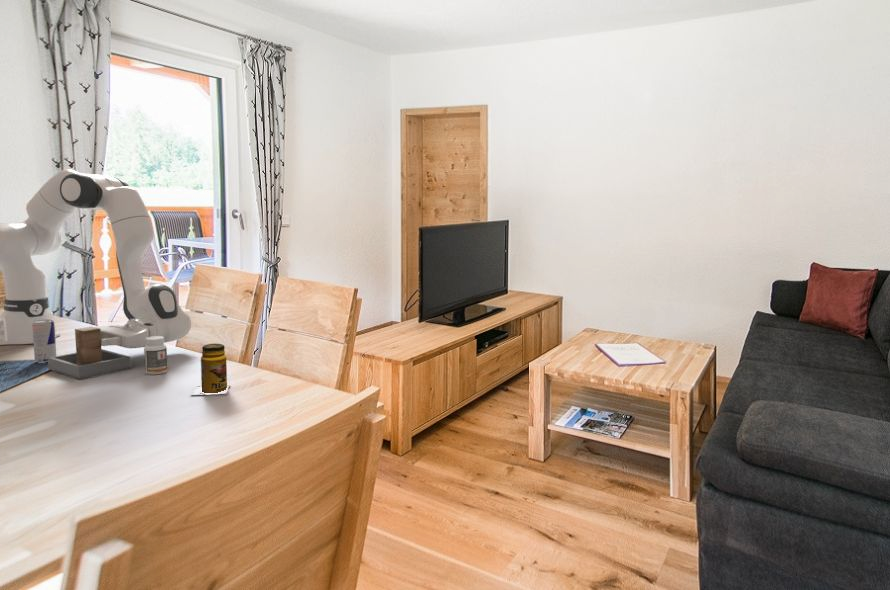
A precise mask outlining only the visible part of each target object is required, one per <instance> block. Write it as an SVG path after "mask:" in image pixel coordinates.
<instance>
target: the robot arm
mask: <svg viewBox="0 0 890 590" xmlns="http://www.w3.org/2000/svg"><path fill="white" fill-rule="evenodd" d="M25 207H26V208H25V210H26V213H27V215H28V216H27V219H25V220H24V221H22V222H7V223H6V222H1V223H0V271H1V274H2V277H3V282H4V284H3V285H4V291H5V293H4V294H5V298H4V300H3V301H4V302H3V311H2V313H1V314H0V346H2V345H29V344H33V330H32V324H33V321H36V320H53V322H54V326H55V338H57V337H59V336H61V332H59V331H57V329H56V328H57V327H56V322H55V315H54V312H52V311H51V310H50V309H49V308H50V301H49V297H48V295H47V283H46V275H45V274H44V272H43V271H42V270H40V269H38V268H37V267H36V266H35V264H34V262H33V260H32V257H33V256H42V255H47V254H49V253H52V252H54V251H56V250H58V249H59V247H61V243H62V235H61V232H60V229H61V227H62V226H63V225H64V223H65V222H66V221H67V220H68V219H69V217H71V216H72V214H73V213H74V212H75V211H76V209H77V208H78V209H86V210H91V211H92V210H94V211H105V213H106V214H107V217H108V218H109V221H110V222H109V223H110V226H111V229H112V232H113V236H114V242H115V253H116V262H117V268H118V273H119V278H120V281H121V286H122V291H123V304H122V309H123V313H124V316H125V317H126V318H127V319H128V321H127V322H126V324H124V325H119V324H108V325H98V326H95V327H96V328H100V332H101V339H100V341H99V342H100V345H101V347H107V346H116V347H117V346H118V347H122V348H125V349H139V348H141V349H142V348H145V346H147V344H146V338H147V337H152V336H163V337H164V343H170V342H174V341H178V340H181V339H183V338H185V337H186V336H187V335H188V334H189V332H190V331H191V327H192V321H191V318H190V315H189V314H188V313H186V312H185V311H184V310H183V309H182V308H181V306H180V304H179V303H178V301H177V296H176V294H175V291H173V289H172V288H171V287H169V286H167V285H166V284H162V283H158V284H154V285H152V286H150V287H147V288H146V287H145V283H144V282H145V281H144V278H143V273H142V269H141V268H142V267H141V265H142V264H141V263H142V259H143V256H144V255H145V253H146V251H147V249H148V248H149V247H150V246H151V244H152V243H153V240H154V227H153V223H152V221H151V220H152V219H151V218H150V215H149V211H148V209H147V207H146V205H145V203H144V201H143V199H142V197H141V195H140V193H139V192H138V190H136V189H134V188H133V187H130V185H129V184H128V183H127V182H126V181H125V180H122V179H120V178H119V177H116V176H115V177H112V176H108V175H104V174H98V173H96V174H94V173H93V174H92V173H83V172H78V171H76V170H74V169H68V168H66V169H61V170H60V171H58V172H57V173H55V174H54V175H52V177H51V178H49V179H48V180H47V181H46V182H45V183H44V184H42V186H41V187H40V188H39V190H37V192H36V193H35V194H33V196H32V197H31V199H30V200H29V201H28V203H26V206H25Z"/></svg>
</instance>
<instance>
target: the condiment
mask: <svg viewBox="0 0 890 590" xmlns="http://www.w3.org/2000/svg"><path fill="white" fill-rule="evenodd" d="M225 348H226V347H225V345H224V344H222V343H208V344H204V345H203V346H202V348H201V349H202V351H201V357H200V374H201V375H200V379H201V385H200V386H201V387H202V392H204V393H218V392H221V391H224V390H226V388H227V386H228V373H227V372H228V368H227V367H228V366H227V361H228V360H227V355H226V354H225V353H226V351H225ZM200 386H198V387H200Z"/></svg>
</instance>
